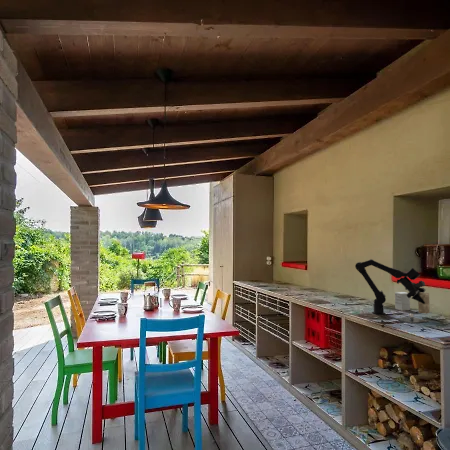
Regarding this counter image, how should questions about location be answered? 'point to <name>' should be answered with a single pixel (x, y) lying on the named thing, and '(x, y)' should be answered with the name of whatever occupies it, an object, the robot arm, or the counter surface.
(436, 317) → the counter surface
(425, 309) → the birch post
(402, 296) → the supplement box
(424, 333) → the counter surface
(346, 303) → the counter surface
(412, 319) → the post plate
